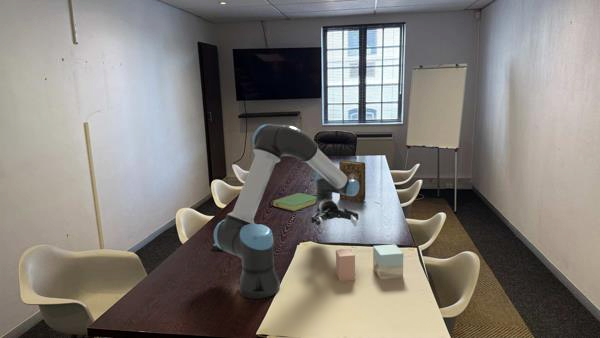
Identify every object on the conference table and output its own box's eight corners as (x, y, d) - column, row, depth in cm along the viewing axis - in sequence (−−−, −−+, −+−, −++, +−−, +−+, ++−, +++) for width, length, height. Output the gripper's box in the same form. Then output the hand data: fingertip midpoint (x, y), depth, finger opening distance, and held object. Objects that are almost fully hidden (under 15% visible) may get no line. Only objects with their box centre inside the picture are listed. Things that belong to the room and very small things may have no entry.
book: (338, 199, 260) (338, 162, 255) (342, 197, 265) (341, 160, 260) (361, 203, 252) (361, 164, 247) (365, 200, 256) (365, 162, 251)
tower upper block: (373, 257, 161) (373, 246, 160) (394, 255, 162) (395, 244, 161) (380, 267, 152) (380, 255, 151) (403, 265, 153) (403, 253, 152)
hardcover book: (299, 198, 269) (298, 192, 268) (320, 202, 256) (320, 197, 256) (271, 206, 251) (271, 201, 250) (293, 212, 238) (293, 206, 238)
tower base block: (373, 269, 161) (373, 258, 160) (394, 267, 163) (394, 256, 162) (380, 279, 153) (380, 267, 152) (402, 277, 154) (403, 265, 153)
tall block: (336, 273, 158) (335, 250, 156) (350, 272, 159) (350, 249, 157) (339, 281, 152) (339, 256, 150) (354, 279, 153) (354, 255, 151)
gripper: (355, 214, 184) (369, 230, 164) (301, 218, 181) (308, 235, 161) (355, 199, 183) (369, 213, 162) (301, 202, 180) (308, 217, 159)
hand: (339, 224), depth 161 cm, fingers open, 13 cm apart
